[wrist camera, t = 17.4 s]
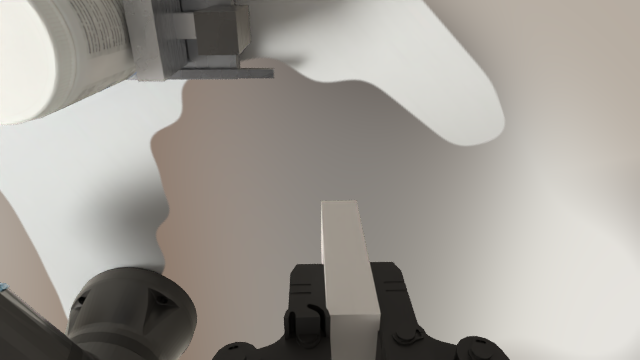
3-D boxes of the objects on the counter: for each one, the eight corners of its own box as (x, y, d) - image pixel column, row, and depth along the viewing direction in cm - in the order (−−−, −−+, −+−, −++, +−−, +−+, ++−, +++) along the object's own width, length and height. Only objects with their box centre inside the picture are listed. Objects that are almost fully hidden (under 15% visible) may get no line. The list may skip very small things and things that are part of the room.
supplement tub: (56, -54, 34) (-124, -84, 21) (169, -12, 35) (67, -14, 22) (47, 60, 38) (-109, 97, 25) (150, 95, 39) (53, 149, 26)
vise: (276, 74, 41) (268, 98, 33) (36, 75, 41) (-32, 100, 32) (270, -40, 37) (260, -44, 29) (1, -40, 36) (-88, -44, 28)
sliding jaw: (253, 63, 38) (241, 82, 32) (166, 63, 38) (135, 82, 31) (247, -21, 35) (232, -20, 28) (152, -21, 35) (115, -20, 28)
